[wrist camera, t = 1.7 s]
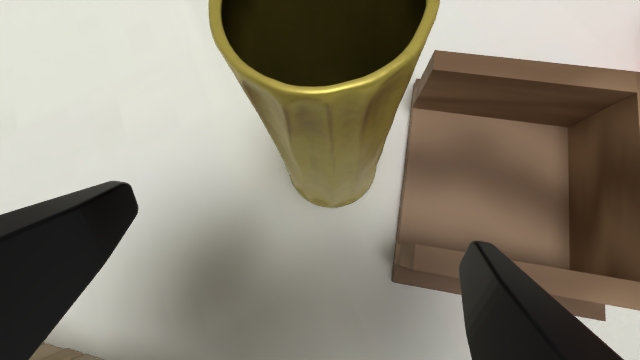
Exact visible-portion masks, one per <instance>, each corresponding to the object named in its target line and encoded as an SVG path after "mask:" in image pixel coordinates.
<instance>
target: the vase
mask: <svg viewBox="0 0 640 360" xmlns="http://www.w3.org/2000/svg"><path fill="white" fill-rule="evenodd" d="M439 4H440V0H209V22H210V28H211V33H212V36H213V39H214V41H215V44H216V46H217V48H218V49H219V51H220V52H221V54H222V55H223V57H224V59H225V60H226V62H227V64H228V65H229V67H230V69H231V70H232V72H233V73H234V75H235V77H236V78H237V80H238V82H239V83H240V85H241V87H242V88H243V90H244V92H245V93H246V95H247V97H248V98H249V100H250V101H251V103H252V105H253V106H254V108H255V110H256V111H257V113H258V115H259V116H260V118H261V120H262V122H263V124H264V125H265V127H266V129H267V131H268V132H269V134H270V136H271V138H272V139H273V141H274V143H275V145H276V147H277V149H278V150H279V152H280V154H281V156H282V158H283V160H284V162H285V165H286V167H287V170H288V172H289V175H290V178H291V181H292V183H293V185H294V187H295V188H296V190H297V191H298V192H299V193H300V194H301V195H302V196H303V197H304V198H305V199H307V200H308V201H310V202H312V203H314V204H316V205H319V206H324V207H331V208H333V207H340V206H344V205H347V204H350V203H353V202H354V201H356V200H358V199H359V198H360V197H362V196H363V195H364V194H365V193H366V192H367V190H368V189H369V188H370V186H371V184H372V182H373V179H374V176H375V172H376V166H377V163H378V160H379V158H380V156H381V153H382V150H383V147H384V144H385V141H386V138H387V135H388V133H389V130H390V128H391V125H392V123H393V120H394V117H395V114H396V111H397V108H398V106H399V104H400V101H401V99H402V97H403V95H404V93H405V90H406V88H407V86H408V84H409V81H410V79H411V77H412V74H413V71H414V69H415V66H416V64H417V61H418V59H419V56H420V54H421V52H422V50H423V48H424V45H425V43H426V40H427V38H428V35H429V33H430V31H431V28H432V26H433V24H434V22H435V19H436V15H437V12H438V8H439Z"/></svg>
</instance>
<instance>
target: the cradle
mask: <svg viewBox="0 0 640 360" xmlns="http://www.w3.org/2000/svg"><path fill="white" fill-rule="evenodd" d="M474 240H477V241H483V242H489V243H491V244H493V245H494V246H495V247H497V248H498V249H499V250H500V251H501V252H502V253H503V254H505V255H506V256H507V257H508V258H509V259H510V260H511V261H512V262H514V263H515V264H516V265H517V266H518V267H519V268H520V269H522V270H523V271H524V272H525V273H526V274H527V275H528V276H529V277H531V278H532V279H533V280H534V281H535V282H536V283H537V284H539V285H540V286H541V287H542V288H543V289H544V290H545V291H547V292H548V293H549V294H550V295H551V296H552V297H553V298H554V299H556V300H557V301H558V302H559V303H560V304H561V305H562V306H564V307H565V308H566V309H567V310H568V311H569V312H570V313H571V314H573V315H574V316H579V317H585V318H590V319H596V320H601V321H606V319H605V304H607V305H612V306H618V307H623V308H629V309H634V310H640V72H634V71H625V70H616V69H606V68H597V67H588V66H578V65H569V64H559V63H550V62H541V61H531V60H522V59H513V58H503V57H494V56H484V55H475V54H466V53H456V52H447V51H438V50H435V51H434V53H433V55H432V57H431V59H430V61H429V63H428V65H427V67H426V69H425V71H424V73H423V75H422V77H421V79H416V81H415V83H414V88H413V97H412V105H411V114H410V123H409V132H408V141H407V150H406V159H405V167H404V176H403V185H402V194H401V203H400V212H399V221H398V230H397V238H396V247H395V256H394V265H393V274H392V281H393V282H395V283H400V284H406V285H411V286H417V287H422V288H428V289H433V290H438V291H444V292H449V293H455V294H460V295H461V286H460V277H459V265H460V262H461V260H462V258H463V256H464V254H465V252H466V250H467V248H468V246H469V244H470V243H471V242H472V241H474Z"/></svg>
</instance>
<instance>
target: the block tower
mask: <svg viewBox="0 0 640 360" xmlns="http://www.w3.org/2000/svg"><path fill="white" fill-rule="evenodd" d="M29 360H103V359H101V358H98V357H94V356H91V355H88V354H86V355H83V354H82V353H81V352H78V351H75V350H71V349H65V350H64V349H62V348H59V347H56V346H52V345H49V344H44V343H42V344H41V345H40V346H39V348H38V349H37V350H36V351H35V353H34V354H33V355H32V357H31V358H30V359H29Z"/></svg>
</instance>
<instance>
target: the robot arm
mask: <svg viewBox="0 0 640 360" xmlns="http://www.w3.org/2000/svg"><path fill="white" fill-rule="evenodd" d="M137 213H138V204H137V201H136V198H135V196H134V193H133V190H132V187H131V186H130V185H129V184H128V183H126V182H120V181H109V182H106V183H103V184H99V185H96V186H93V187H90V188H86V189H83V190H80V191H77V192H73V193H70V194H67V195H63V196H60V197H57V198H54V199H50V200H47V201H44V202H41V203H37V204H34V205H31V206H28V207H24V208H21V209H18V210H15V211H11V212H8V213H5V214H2V215H0V360H29V359H30V358H31V357H32V355H33V354H34V353H35V351H36V350H37V349H38V348H39V346H40V345H41V344H42V343H43V341H44V340H45V339H46V338H47V336H48V335H49V334H50V333H51V331H52V330H53V329H54V327H55V326H56V325H57V324H58V322H59V321H60V320H61V319H62V317H63V316H64V315H65V314H66V312H67V311H68V310H69V309H70V307H71V306H72V305H73V303H74V302H75V301H76V300H77V298H78V297H79V296H80V295H81V293H82V292H83V291H84V290H85V288H86V287H87V286H88V285H89V283H90V282H91V281H92V279H93V278H94V277H95V276H96V274H97V273H98V272H99V271H100V269H101V268H102V267H103V265H104V264H105V263H106V261H107V260H108V258H109V257H110V255H111V254H112V252H113V251H114V249H115V248H116V246H117V245H118V243H119V242H120V240H121V239H122V237H123V235H124V234H125V232H126V231H127V229H128V228H129V226H130V225H131V223H132V222H133V220H134V219H135V217H136V215H137ZM459 277H460V286H461V295H462V304H463V312H464V321H465V328H466V334H467V339H468V344H469V348H470V353H471V357H472V360H624V359H623V358H621V357H620V356H619V355H618V354H617V353H616V352H615V351H613V350H612V349H611V348H610V347H609V346H608V345H607V344H606V343H604V342H603V341H602V340H601V339H600V338H599V337H598V336H596V335H595V334H594V333H593V332H592V331H591V330H590V329H588V328H587V327H586V326H585V325H584V324H583V323H582V322H581V321H579V320H578V319H577V318H576V317H575V316H574V315H573V314H571V313H570V312H569V311H568V310H567V309H566V308H565V307H564V306H562V305H561V304H560V303H559V302H558V301H557V300H556V299H554V298H553V297H552V296H551V295H550V294H549V293H548V292H547V291H545V290H544V289H543V288H542V287H541V286H540V285H539V284H537V283H536V282H535V281H534V280H533V279H532V278H531V277H529V276H528V275H527V274H526V273H525V272H524V271H523V270H522V269H520V268H519V267H518V266H517V265H516V264H515V263H514V262H512V261H511V260H510V259H509V258H508V257H507V256H506V255H505V254H503V253H502V252H501V251H500V250H499V249H498V248H497V247H495V246H494V245H493V244H491V243H489V242H483V241H477V240H474V241H472V242H471V243H470V244H469V246H468V248H467V250H466V252H465V254H464V256H463V258H462V260H461V262H460V265H459Z"/></svg>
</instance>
